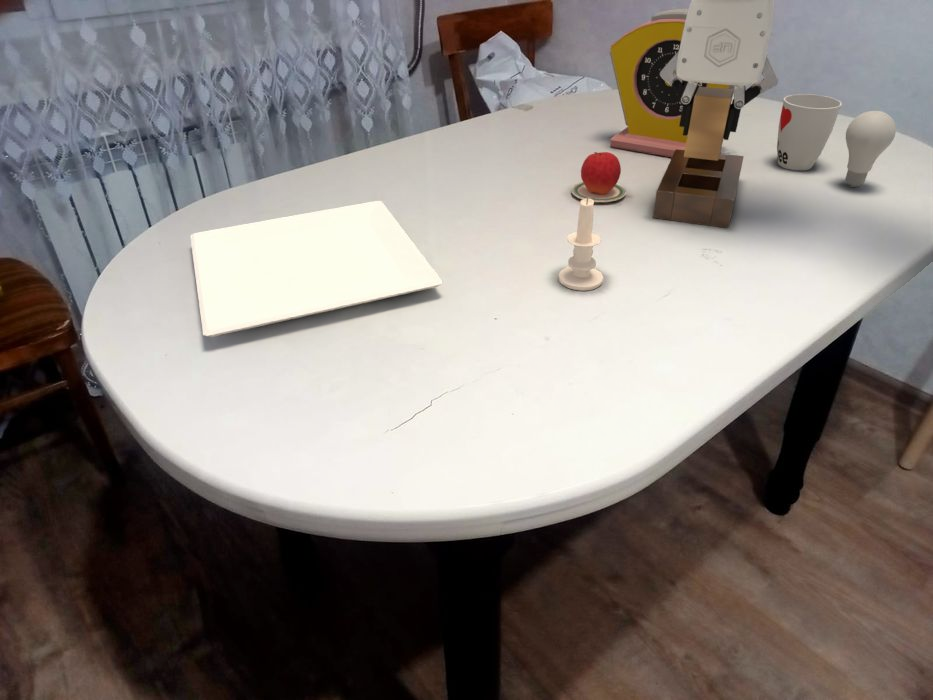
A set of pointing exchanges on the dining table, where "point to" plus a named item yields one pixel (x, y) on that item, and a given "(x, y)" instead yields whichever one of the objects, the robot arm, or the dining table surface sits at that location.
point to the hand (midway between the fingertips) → (706, 133)
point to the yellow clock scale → (651, 85)
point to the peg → (708, 123)
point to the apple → (600, 178)
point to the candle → (582, 253)
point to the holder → (698, 189)
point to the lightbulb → (867, 143)
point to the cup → (805, 129)
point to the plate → (304, 266)
